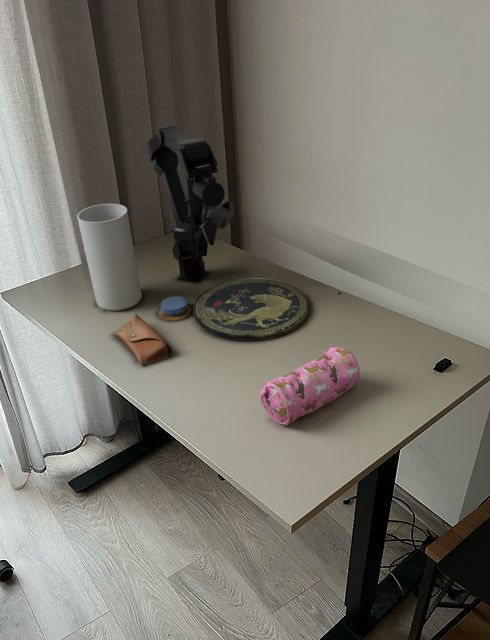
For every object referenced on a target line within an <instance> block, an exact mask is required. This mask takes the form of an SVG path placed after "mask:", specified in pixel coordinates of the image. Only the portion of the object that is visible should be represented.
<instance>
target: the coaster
mask: <svg viewBox="0 0 490 640" xmlns="http://www.w3.org/2000/svg"><path fill="white" fill-rule="evenodd" d="M191 313H192V308H191V306H190V305H188V308H187V309H186V310H185V311H184V312H183V313H181V314H179V315H168V314H166V313H164V312H163V311H162V310H161V308H159V310H158V316H159V318H160V319H162V320H164V321H167V322H174V321H175V322H176V321H180V320H181V321H182V320H184V319H186V318H187V317H189V316H190V315H191Z"/></svg>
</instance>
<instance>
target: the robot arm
mask: <svg viewBox="0 0 490 640" xmlns="http://www.w3.org/2000/svg"><path fill="white" fill-rule="evenodd" d="M145 152H146V158H147V160H148V162H150V164H151V167H152V169H153V171H155V172H156V173H157V174H158V175H159V176H160V177H161V179H162V183H163V187H164V190H165V193H166V195H167V200H168V202H169V206H170V208H171V212H172V215H173V219H174V221H175V224H176V227H175V228H174V229H173V230H172V236H173V239H174V245H173V247H172V255H173V258H174V259H175V260H176V261H177V262H178V267H179V276H177V280H180V281H187V282H193V283H199V281H201V279H202V278H204V277H205V275H206V274H207V272H208V271H207V270H206V265H205V264H206V263H205V260H204V258H203V257H207V256H208V245H209V246H214V245H215V241H216V237H217V233H218V229H223V230H224V229H225V228H226V227H227V226H228V225H230V224H231V220H232V217H233V216H234V215H235V210H234V204H233V202H232V201H230V200H226V201H225V202H224V203H222V202H223V201H224V198H225V194H226V191H225V188H224V186H223V185H222V184H221V183H219V182H218V181H217V177H216V176H215V175H213V174H215V173H218V172H219V170H218V162H217V159H216V157H215V154H214V152H213V149H212V148H211V145H210V144H209V143H208V142H207V140H205V139H204V138H190V137H189V136H188V135H187V134H184V133H183V132H181V131H180V130H179V129H178V127H177V126H176V125H168V126H161V127H159V128H157V129H156V132H155V134H153V136H152V137H151V138H150V139H149V140H148V141H147V146H146V149H145ZM179 166H180V168H181V170H182V172H183V175H184V182H185V190H186V193H185V192H184V191H185V190H184V187H183V185H182V181H181V178H180V175H179V171H178V167H179ZM203 230H204V231H203Z"/></svg>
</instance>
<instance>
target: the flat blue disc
mask: <svg viewBox="0 0 490 640" xmlns="http://www.w3.org/2000/svg"><path fill="white" fill-rule="evenodd" d="M188 306H189V305H188V300H187V298H185V297H183V296H169V297H166V298H165V299H163V300H162V301H161V302H160V309H161V310H162V311H163V312H164V313H166V314H168V315H179V314H181V313H183V312H184V311H185V310H186V309H187V308H188Z"/></svg>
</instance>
